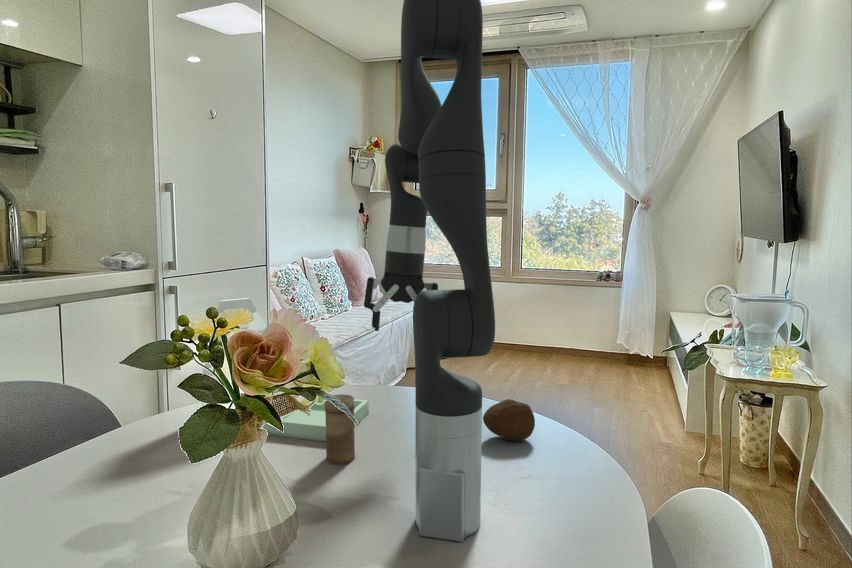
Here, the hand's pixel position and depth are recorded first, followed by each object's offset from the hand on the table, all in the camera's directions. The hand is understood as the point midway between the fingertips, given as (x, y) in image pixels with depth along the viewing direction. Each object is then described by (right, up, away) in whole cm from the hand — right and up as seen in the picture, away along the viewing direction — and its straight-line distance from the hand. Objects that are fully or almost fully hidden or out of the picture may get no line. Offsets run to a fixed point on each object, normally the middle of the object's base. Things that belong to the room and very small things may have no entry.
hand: (398, 332), depth 108 cm
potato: (+21, -21, -1) cm, 30 cm away
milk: (-34, -20, +8) cm, 40 cm away
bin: (-17, -20, +7) cm, 27 cm away
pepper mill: (-10, -22, -10) cm, 26 cm away
